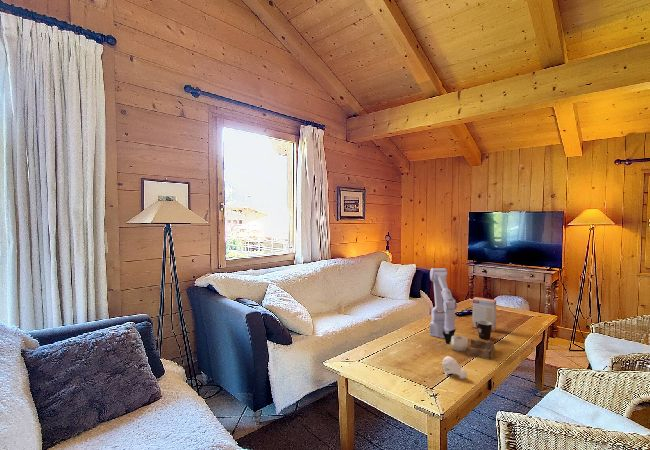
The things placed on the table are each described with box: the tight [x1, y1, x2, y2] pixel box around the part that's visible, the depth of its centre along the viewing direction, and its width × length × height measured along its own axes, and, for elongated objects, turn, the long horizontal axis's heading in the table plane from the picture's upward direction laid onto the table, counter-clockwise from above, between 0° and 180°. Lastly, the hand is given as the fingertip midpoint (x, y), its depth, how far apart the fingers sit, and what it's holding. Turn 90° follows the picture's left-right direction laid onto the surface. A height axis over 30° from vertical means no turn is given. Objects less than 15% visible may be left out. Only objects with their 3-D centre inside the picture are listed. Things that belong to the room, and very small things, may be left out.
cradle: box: [465, 338, 495, 360], centre depth 193 cm, size 13×15×5 cm
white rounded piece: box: [441, 355, 468, 380], centre depth 166 cm, size 6×8×12 cm
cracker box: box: [471, 296, 497, 333], centre depth 231 cm, size 14×6×21 cm, turn 49°
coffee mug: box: [476, 321, 492, 341], centre depth 216 cm, size 12×9×10 cm
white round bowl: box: [450, 334, 469, 352], centre depth 200 cm, size 9×9×6 cm
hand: (449, 341), depth 203 cm, fingers open, 7 cm apart
